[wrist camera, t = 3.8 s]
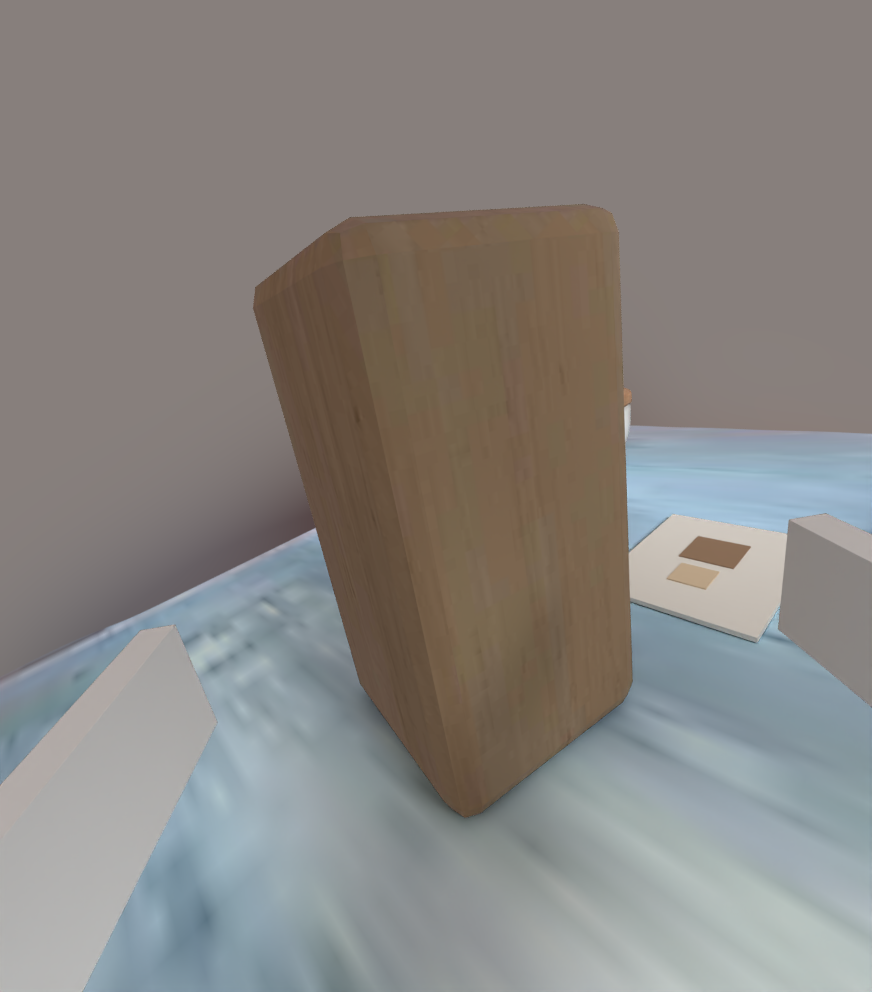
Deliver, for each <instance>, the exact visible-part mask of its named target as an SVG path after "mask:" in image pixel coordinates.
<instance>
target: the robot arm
mask: <svg viewBox="0 0 872 992" xmlns="http://www.w3.org/2000/svg"><path fill="white" fill-rule="evenodd" d="M778 630H780V631H781V632H782V633H783V634H784V635H786V636H787V637H788V638H789V639H790V640H792V641H793V642H794V643H795V644H796V645H798V646H799V647H800V648H801V649H802V650H804V651H805V652H806V653H807V654H808V655H810V656H811V657H812V658H813V659H814V660H816V661H817V662H818V663H819V664H820V665H822V666H823V667H824V668H825V669H826V670H828V671H829V672H830V673H831V674H832V675H834V676H835V677H836V678H837V679H838V680H840V681H841V682H842V683H843V684H844V685H846V686H847V687H848V688H849V689H850V690H852V691H853V692H854V693H855V694H856V695H857V696H859V697H860V698H861V699H862V700H863V701H865V702H866V703H867V704H868V705H869V706H871V707H872V534H870V533H868V532H865V531H863V530H861V529H859V528H857V527H854V526H852V525H850V524H848V523H846V522H843V521H841V520H839V519H837V518H835V517H833V516H830V515H828V514H826V513H825V514H819V515H813V516H807V517H802V518H796V519H790V520H789V523H788V533H787V543H786V553H785V563H784V573H783V583H782V593H781V603H780V613H779V623H778ZM216 724H217V720H216V718H215V716H214V713H213V711H212V709H211V706H210V704H209V702H208V699H207V697H206V695H205V692H204V690H203V688H202V686H201V683H200V681H199V679H198V676H197V674H196V672H195V669H194V667H193V665H192V662H191V660H190V658H189V655H188V653H187V651H186V649H185V646H184V644H183V642H182V639H181V637H180V635H179V632H178V630H177V628H176V625H170V626H164V627H158V628H152V629H146V630H140V631H139V632H138V634H137V635H136V636H135V637H134V638H133V639H132V640H131V641H130V642H129V644H128V645H127V646H126V647H125V648H124V649H123V650H122V651H121V652H120V653H119V655H118V656H117V657H116V658H115V659H114V660H113V661H112V662H111V663H110V664H109V666H108V667H107V668H106V669H105V670H104V671H103V672H102V673H101V674H100V676H99V677H98V678H97V679H96V680H95V681H94V682H93V683H92V684H91V685H90V687H89V688H88V689H87V690H86V691H85V692H84V693H83V694H82V695H81V696H80V698H79V699H78V700H77V701H76V702H75V703H74V704H73V705H72V706H71V708H70V709H69V710H68V711H67V712H66V713H65V714H64V715H63V716H62V717H61V719H60V720H59V721H58V722H57V723H56V724H55V725H54V726H53V727H52V729H51V730H50V731H49V732H48V733H47V734H46V735H45V736H44V737H43V738H42V740H41V741H40V742H39V743H38V744H37V745H36V746H35V747H34V748H33V749H32V751H31V752H30V753H29V754H28V755H27V756H26V757H25V758H24V759H23V761H22V762H21V763H20V764H19V765H18V766H17V767H16V768H15V769H14V770H13V772H12V773H11V774H10V775H9V776H8V777H7V778H6V779H5V780H4V782H3V783H2V784H1V785H0V992H83V990H84V988H85V986H86V984H87V982H88V980H89V978H90V976H91V974H92V972H93V970H94V968H95V966H96V964H97V962H98V960H99V958H100V956H101V954H102V952H103V950H104V948H105V946H106V944H107V942H108V940H109V938H110V936H111V934H112V932H113V930H114V928H115V926H116V924H117V922H118V920H119V918H120V916H121V914H122V912H123V910H124V908H125V906H126V904H127V902H128V900H129V898H130V896H131V894H132V892H133V890H134V888H135V886H136V884H137V882H138V880H139V878H140V876H141V874H142V872H143V870H144V868H145V866H146V864H147V862H148V860H149V858H150V856H151V854H152V852H153V850H154V848H155V846H156V844H157V842H158V840H159V838H160V836H161V834H162V832H163V830H164V828H165V826H166V824H167V822H168V820H169V818H170V816H171V814H172V812H173V810H174V808H175V806H176V804H177V802H178V800H179V798H180V796H181V794H182V792H183V790H184V788H185V786H186V784H187V782H188V780H189V778H190V776H191V774H192V772H193V770H194V768H195V766H196V764H197V762H198V760H199V758H200V756H201V754H202V752H203V750H204V748H205V746H206V744H207V742H208V740H209V738H210V736H211V734H212V732H213V730H214V728H215V726H216Z"/></svg>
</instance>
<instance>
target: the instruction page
mask: <svg viewBox="0 0 872 992" xmlns="http://www.w3.org/2000/svg"><path fill="white" fill-rule="evenodd" d="M786 543H787V534H786V533H780V532H774V531H768V530H762V529H757V528H751V527H745V526H739V525H733V524H728V523H722V522H716V521H710V520H705V519H699V518H693V517H687V516H681V515H676V514H673V515H671V516H670V517H669V518H668V519H667V520H666V521H665V522H663V523H662V524H661V525H660V526H659V527H658V528H657V529H655V530H654V531H653V532H652V533H651V534H650V535H648V536H647V537H646V538H645V539H644V540H643V541H642V542H640V543H639V544H638V545H637V546H636V547H635V548H634V549H632V550H631V551H630V552H629V583H630V602H633V603H636V604H639V605H642V606H645V607H648V608H651V609H654V610H657V611H661V612H664V613H667V614H670V615H673V616H676V617H679V618H682V619H685V620H688V621H691V622H694V623H697V624H700V625H703V626H707V627H710V628H713V629H716V630H719V631H722V632H725V633H728V634H731V635H734V636H737V637H740V638H743V639H746V640H749V641H752V642H756V643H758V641H759V639H760V638H761V636H762V634H763V633H764V631H765V630H766V628H767V626H768V625H769V623H770V621H771V620H772V618H773V616H774V615H775V613H776V611H777V610H778V608H779V606H780V603H781V593H782V583H783V573H784V563H785V553H786Z"/></svg>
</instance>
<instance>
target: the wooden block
mask: <svg viewBox="0 0 872 992" xmlns="http://www.w3.org/2000/svg"><path fill="white" fill-rule="evenodd" d="M619 259H620V258H619V232H618V229H617V226H616V223H615V221H614V218H613V215H612V213H610V212H608V211H607V210H605V209H603V208H600V207H595V206H590V205H585V204H578V205H562V206H561V205H560V206H542V207H525V208H508V209H490V210H472V211H455V212H436V213H420V214H401V215H384V216H366V217H350V218H348V219H346V220H345V221H343V222H342V223H340V224H338V225H337V226H335V227H334V228H332V229H331V230H329V231H328V232H326V233H324V234H323V235H322V236H321V237H319V238H318V239H317V240H315V241H314V242H313V243H311V245H309V246H308V247H306V248H305V249H304V250H303V251H301V252H300V253H299V254H297V255H296V256H295V257H294V258H292V259H291V260H290V261H288V262H287V263H286V264H285V265H283V266H282V267H281V268H279V270H277V271H276V272H274V273H273V274H272V275H271V276H269V277H268V278H267V279H265V280H264V281H263V282H261V283H260V284H259V285H258V286H257V287H255V296H254V306H253V309H254V313H255V316H256V320H257V323H258V327H259V330H260V334H261V337H262V341H263V344H264V348H265V352H266V355H267V359H268V362H269V366H270V369H271V372H272V376H273V379H274V383H275V387H276V390H277V394H278V397H279V401H280V404H281V408H282V411H283V415H284V418H285V422H286V425H287V429H288V432H289V436H290V439H291V443H292V446H293V450H294V453H295V457H296V460H297V464H298V467H299V470H300V474H301V478H302V481H303V484H304V488H305V492H306V495H307V499H308V502H309V506H310V509H311V513H312V516H313V520H314V523H315V527H316V530H317V534H318V537H319V541H320V544H321V548H322V551H323V555H324V559H325V562H326V566H327V569H328V573H329V576H330V580H331V583H332V587H333V590H334V594H335V597H336V601H337V604H338V608H339V611H340V615H341V618H342V622H343V625H344V629H345V632H346V636H347V639H348V643H349V646H350V650H351V653H352V657H353V660H354V664H355V667H356V671H357V674H358V678H359V681H360V684H361V686H362V687H363V688H364V690H365V691H366V693H367V694H368V695H369V697H370V698H371V700H372V701H373V702H374V704H375V705H376V707H377V708H378V709H379V711H380V712H381V714H382V715H383V716H384V718H385V719H386V721H387V722H388V723H389V725H390V726H391V728H392V729H393V731H394V732H395V733H396V735H397V736H398V738H399V739H400V740H401V742H402V743H403V745H404V746H405V747H406V749H407V750H408V752H409V753H410V754H411V756H412V757H413V759H414V760H415V761H416V763H417V764H418V766H419V767H420V768H421V770H422V771H423V773H424V774H425V775H426V777H427V778H428V780H429V781H430V782H431V784H432V785H433V787H434V788H435V789H436V791H437V792H438V794H439V795H440V796H441V798H442V799H443V801H444V802H445V803H446V804H447V805H448V806H449V807H451V808H452V809H453V810H454V811H455V812H457V813H458V814H460V815H461V816H463V817H464V818H467V817H470V816H473V815H477V814H480V813H481V812H483V811H484V810H485V809H487V808H488V807H489V806H490V805H492V804H493V803H494V802H495V801H497V800H498V799H499V798H501V797H502V796H503V795H504V794H506V793H507V792H508V791H510V790H511V789H512V788H513V787H515V786H516V785H517V784H518V783H520V782H521V781H522V780H524V779H525V778H526V777H527V776H529V775H530V774H531V773H533V772H534V771H535V770H536V769H538V768H539V767H540V766H541V765H543V764H544V763H545V762H547V761H548V760H549V759H550V758H552V757H553V756H554V755H556V754H557V753H558V752H559V751H561V750H562V749H563V748H564V747H566V746H567V745H568V744H570V743H571V742H572V741H573V740H575V739H576V738H577V737H579V736H580V735H581V734H582V733H584V732H585V731H586V730H588V729H589V728H590V727H591V726H593V725H594V724H595V723H596V722H598V721H599V720H600V719H602V718H603V717H604V716H605V715H607V714H608V713H609V712H611V711H612V710H613V709H614V708H616V707H617V706H618V705H619V704H621V703H622V702H623V701H624V699H625V697H626V696H627V694H628V692H629V689H630V687H631V684H632V682H633V681H632V648H631V615H630V583H629V550H628V518H627V485H626V453H625V420H624V388H623V357H622V356H623V355H622V323H621V294H620V293H621V291H620V260H619Z"/></svg>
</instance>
